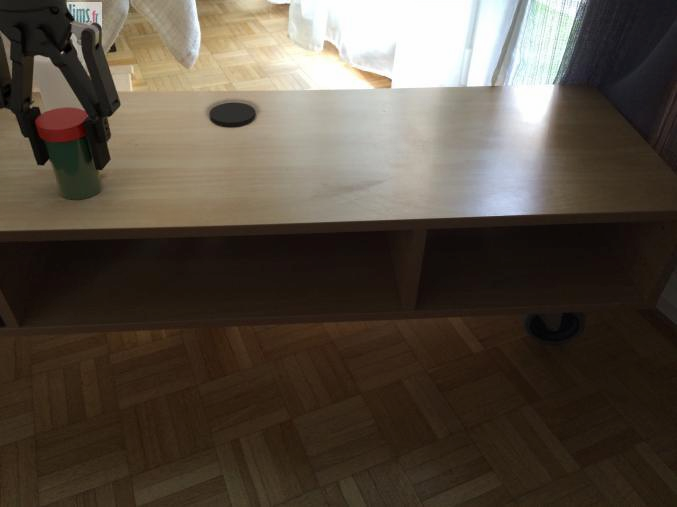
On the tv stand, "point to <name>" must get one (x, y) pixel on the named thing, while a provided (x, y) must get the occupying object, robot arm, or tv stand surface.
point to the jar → (74, 168)
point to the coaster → (232, 114)
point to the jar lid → (61, 124)
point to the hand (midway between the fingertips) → (74, 162)
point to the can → (54, 85)
